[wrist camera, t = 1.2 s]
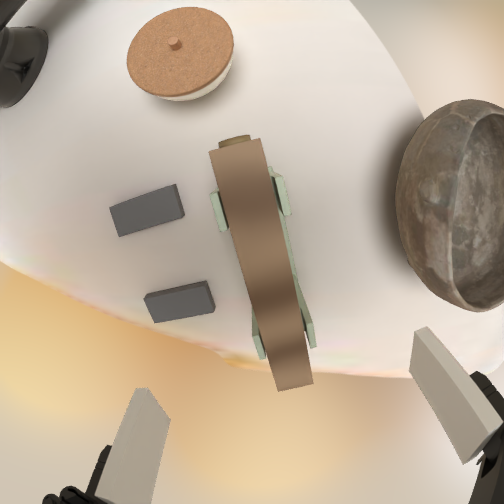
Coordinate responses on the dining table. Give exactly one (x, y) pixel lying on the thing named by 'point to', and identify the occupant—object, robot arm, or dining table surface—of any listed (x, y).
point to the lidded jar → (181, 54)
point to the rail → (263, 256)
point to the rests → (150, 214)
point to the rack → (285, 211)
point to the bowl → (456, 204)
